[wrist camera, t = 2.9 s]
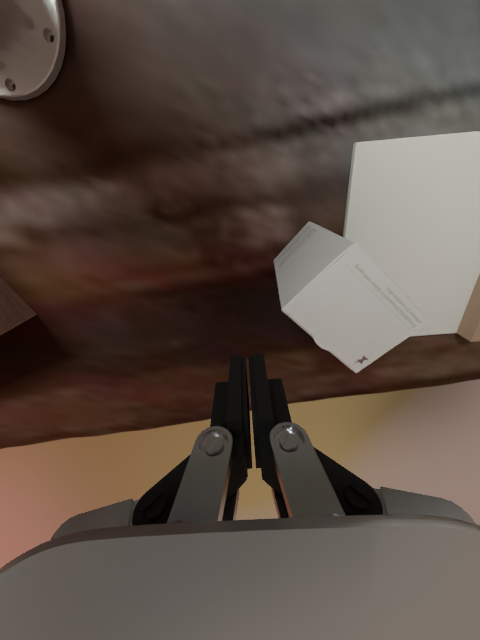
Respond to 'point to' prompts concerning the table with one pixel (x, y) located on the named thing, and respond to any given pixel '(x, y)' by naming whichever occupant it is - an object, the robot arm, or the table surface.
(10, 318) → the tissue box cover
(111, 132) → the table surface
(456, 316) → the white flat piece
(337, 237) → the skincare box
